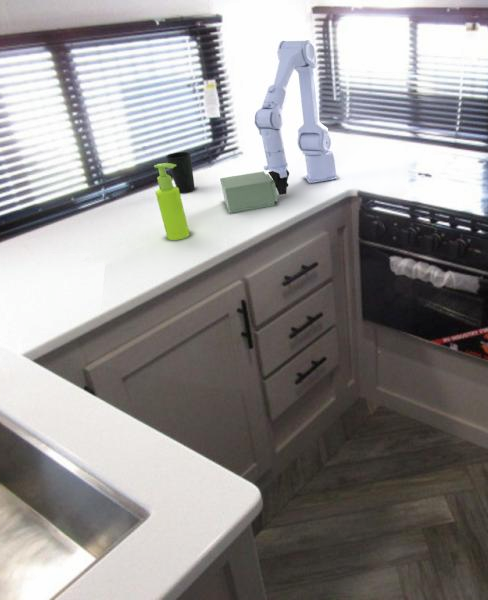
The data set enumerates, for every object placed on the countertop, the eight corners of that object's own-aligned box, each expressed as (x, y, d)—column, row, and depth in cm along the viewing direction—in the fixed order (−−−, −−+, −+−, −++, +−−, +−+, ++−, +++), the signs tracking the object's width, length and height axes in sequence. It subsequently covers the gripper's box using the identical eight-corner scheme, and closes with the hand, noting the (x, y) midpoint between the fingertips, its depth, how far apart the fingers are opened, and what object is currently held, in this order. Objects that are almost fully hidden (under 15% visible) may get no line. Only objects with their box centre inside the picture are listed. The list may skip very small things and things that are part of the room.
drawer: (284, 189, 185) (282, 171, 182) (292, 198, 176) (289, 180, 174) (231, 198, 180) (228, 180, 177) (236, 208, 171) (233, 189, 169)
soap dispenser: (186, 240, 154) (168, 167, 144) (163, 239, 155) (144, 167, 145) (196, 232, 159) (180, 160, 149) (174, 231, 160) (156, 160, 150)
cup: (201, 186, 196) (193, 151, 190) (192, 193, 189) (184, 157, 183) (180, 187, 197) (171, 152, 191) (170, 194, 190) (161, 158, 184)
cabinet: (267, 194, 184) (263, 171, 180) (274, 205, 175) (271, 181, 171) (224, 201, 180) (219, 178, 176) (230, 213, 171) (225, 188, 167)
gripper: (256, 147, 174) (264, 189, 181) (266, 159, 162) (275, 204, 169) (278, 142, 176) (286, 185, 183) (290, 154, 164) (298, 198, 171)
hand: (282, 193), depth 176 cm, fingers closed, pressing on drawer
